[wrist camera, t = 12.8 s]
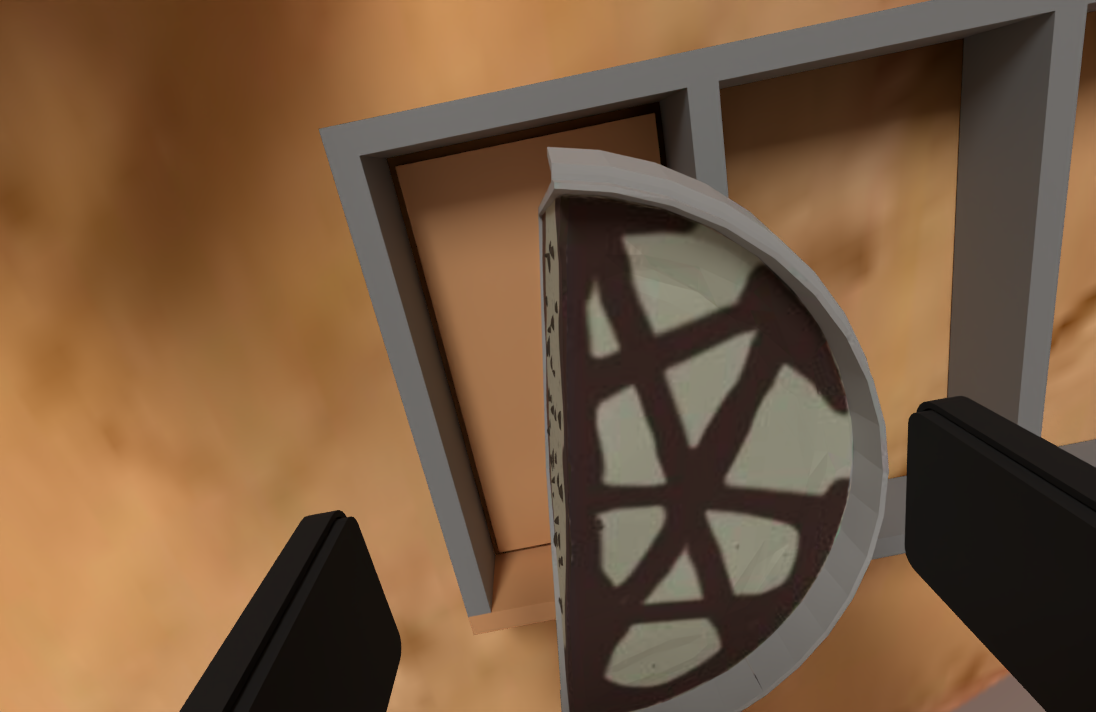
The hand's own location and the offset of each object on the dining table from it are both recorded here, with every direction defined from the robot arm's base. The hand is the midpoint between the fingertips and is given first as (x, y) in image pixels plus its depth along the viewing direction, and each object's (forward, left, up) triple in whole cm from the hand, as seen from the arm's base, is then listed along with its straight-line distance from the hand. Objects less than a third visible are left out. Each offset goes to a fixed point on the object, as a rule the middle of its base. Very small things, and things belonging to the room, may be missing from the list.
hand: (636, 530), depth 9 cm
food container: (-2, 0, -10) cm, 10 cm away
